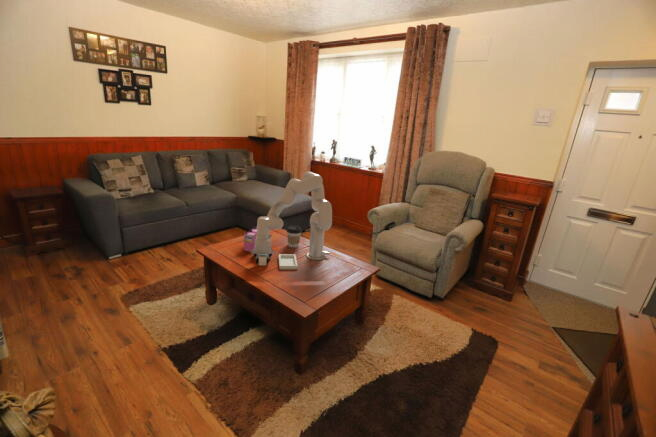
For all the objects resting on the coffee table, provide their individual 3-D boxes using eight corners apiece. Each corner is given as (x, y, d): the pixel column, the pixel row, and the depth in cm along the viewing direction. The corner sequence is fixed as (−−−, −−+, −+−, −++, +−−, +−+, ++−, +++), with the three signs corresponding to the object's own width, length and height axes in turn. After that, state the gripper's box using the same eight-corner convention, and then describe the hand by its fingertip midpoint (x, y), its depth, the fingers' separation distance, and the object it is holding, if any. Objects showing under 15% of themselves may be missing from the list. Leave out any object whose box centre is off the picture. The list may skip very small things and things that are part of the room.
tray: (295, 257, 215) (295, 254, 214) (297, 269, 198) (297, 265, 197) (278, 257, 213) (278, 254, 212) (279, 269, 195) (279, 265, 195)
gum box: (258, 240, 240) (258, 224, 236) (267, 242, 238) (267, 226, 235) (243, 251, 219) (243, 233, 215) (253, 252, 217) (253, 235, 214)
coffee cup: (298, 250, 227) (299, 231, 223) (283, 248, 229) (284, 228, 225) (302, 245, 238) (304, 226, 234) (288, 243, 240) (289, 224, 236)
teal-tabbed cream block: (266, 257, 212) (266, 248, 210) (266, 265, 199) (266, 256, 198) (259, 257, 211) (259, 248, 209) (258, 265, 199) (258, 256, 197)
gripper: (277, 234, 200) (276, 261, 205) (249, 234, 197) (249, 261, 202) (277, 238, 193) (276, 266, 198) (248, 238, 190) (248, 266, 195)
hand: (262, 263), depth 200 cm, fingers closed on teal-tabbed cream block, 5 cm apart
